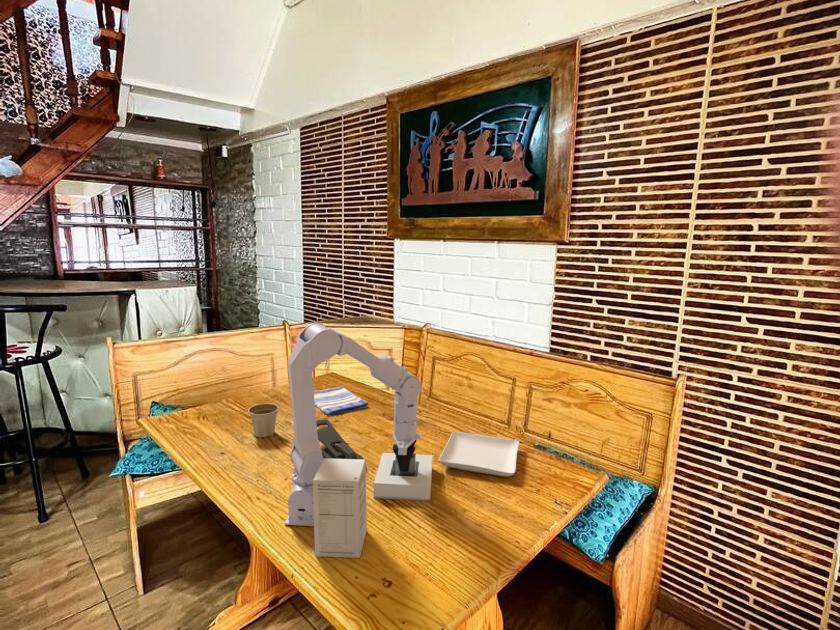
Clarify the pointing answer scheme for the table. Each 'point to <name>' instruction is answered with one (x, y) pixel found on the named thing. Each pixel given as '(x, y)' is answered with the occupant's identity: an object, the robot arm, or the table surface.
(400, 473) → the bracket
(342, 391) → the dish towel
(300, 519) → the robot arm
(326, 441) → the zipper pull
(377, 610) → the table surface
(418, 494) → the well block
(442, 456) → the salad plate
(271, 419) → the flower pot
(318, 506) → the supplement box
